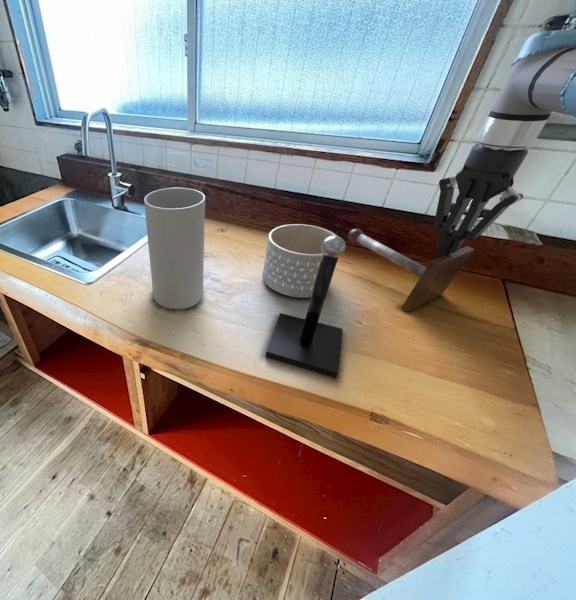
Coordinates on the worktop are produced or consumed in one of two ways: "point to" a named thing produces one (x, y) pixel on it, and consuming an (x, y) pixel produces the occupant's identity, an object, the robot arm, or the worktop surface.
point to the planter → (294, 258)
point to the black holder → (311, 324)
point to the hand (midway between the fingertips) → (438, 262)
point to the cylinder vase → (176, 245)
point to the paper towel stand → (419, 269)
